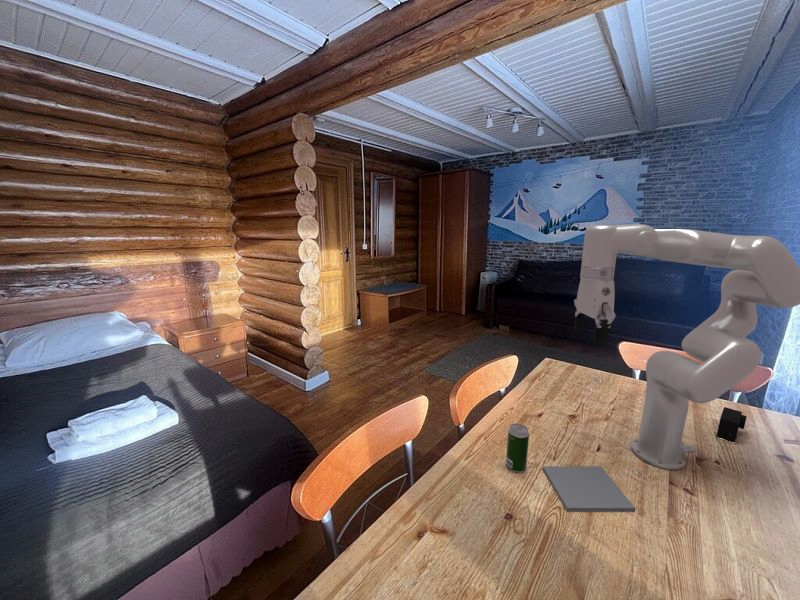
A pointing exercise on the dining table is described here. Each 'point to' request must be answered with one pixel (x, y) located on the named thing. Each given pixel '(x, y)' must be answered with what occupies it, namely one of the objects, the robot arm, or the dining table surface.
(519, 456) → the beer can
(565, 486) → the mat
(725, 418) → the digital camera
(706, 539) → the dining table surface
